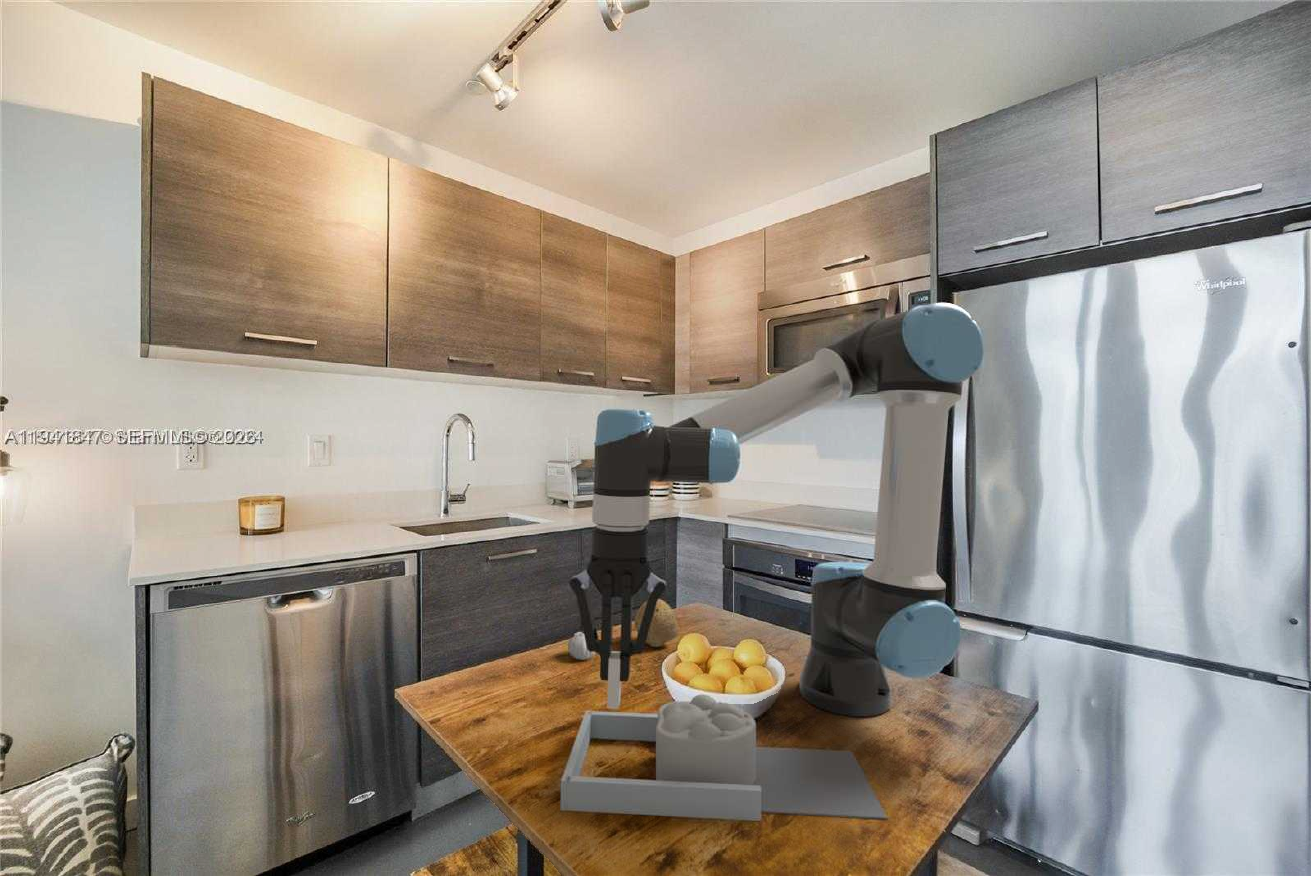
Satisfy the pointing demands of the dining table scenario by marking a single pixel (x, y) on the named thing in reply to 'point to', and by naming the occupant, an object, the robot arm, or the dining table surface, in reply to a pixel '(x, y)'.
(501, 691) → the dining table surface
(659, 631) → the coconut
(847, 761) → the mat
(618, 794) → the low rectangular rim
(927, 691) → the dining table surface
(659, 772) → the lumpy-topped squat cylinder
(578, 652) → the garlic
